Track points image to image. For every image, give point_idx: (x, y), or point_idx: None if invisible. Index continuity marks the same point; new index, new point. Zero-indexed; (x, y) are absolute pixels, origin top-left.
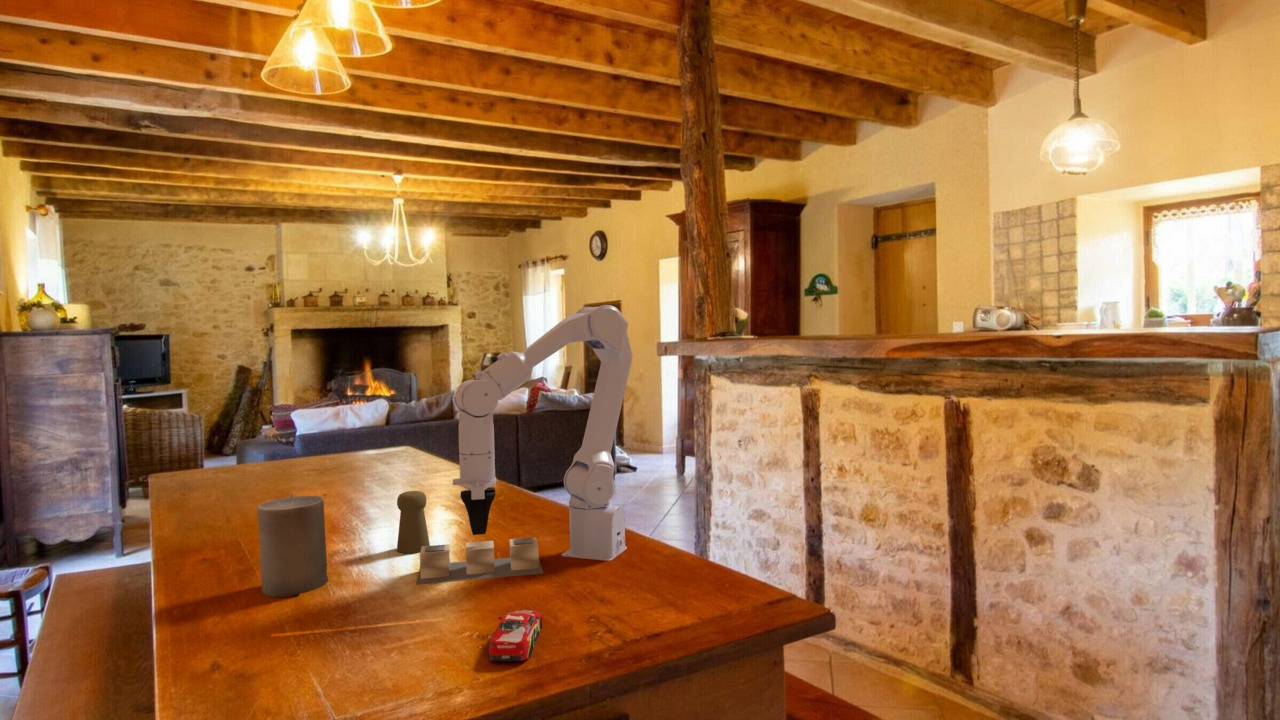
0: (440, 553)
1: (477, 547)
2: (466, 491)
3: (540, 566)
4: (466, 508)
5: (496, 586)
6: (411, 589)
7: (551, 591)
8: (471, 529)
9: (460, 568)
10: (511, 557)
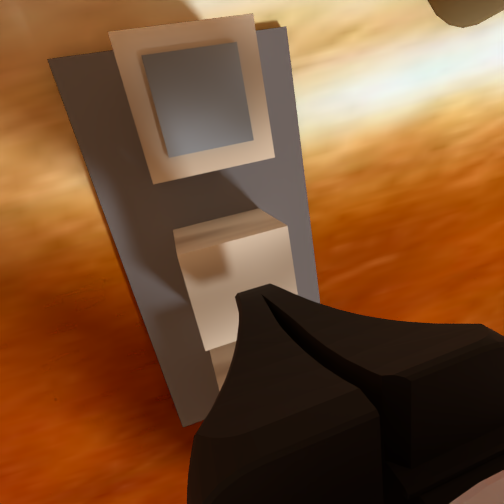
0: (142, 145)
1: (217, 289)
2: (475, 400)
3: None
4: (227, 377)
5: (84, 339)
6: (19, 47)
7: (54, 477)
8: (239, 301)
9: (236, 192)
10: (215, 372)
